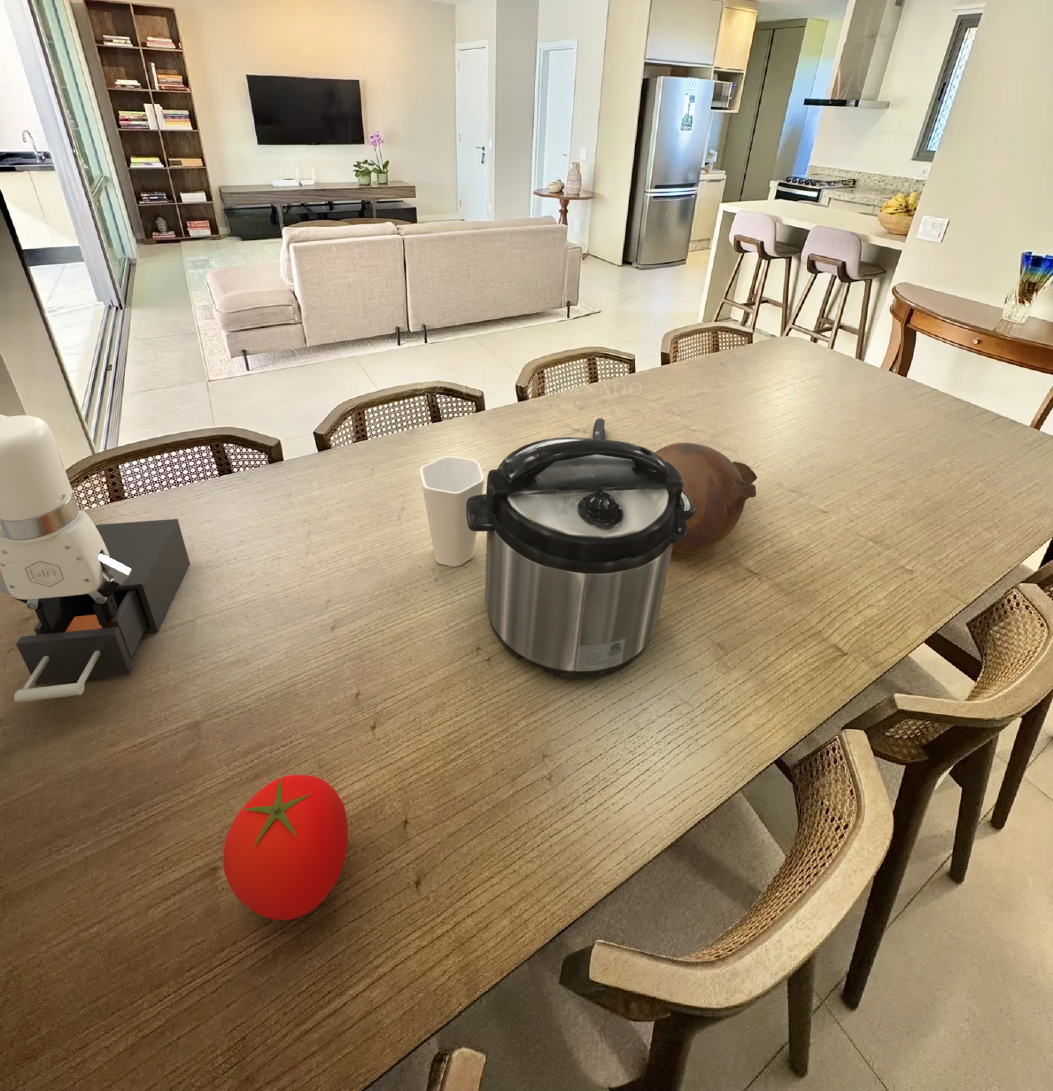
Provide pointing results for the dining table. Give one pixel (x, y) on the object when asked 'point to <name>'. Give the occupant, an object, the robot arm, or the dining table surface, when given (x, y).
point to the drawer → (81, 647)
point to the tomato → (287, 847)
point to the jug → (709, 492)
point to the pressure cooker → (578, 551)
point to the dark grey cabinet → (149, 562)
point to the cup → (451, 506)
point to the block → (86, 623)
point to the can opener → (599, 429)
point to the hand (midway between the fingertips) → (81, 619)
